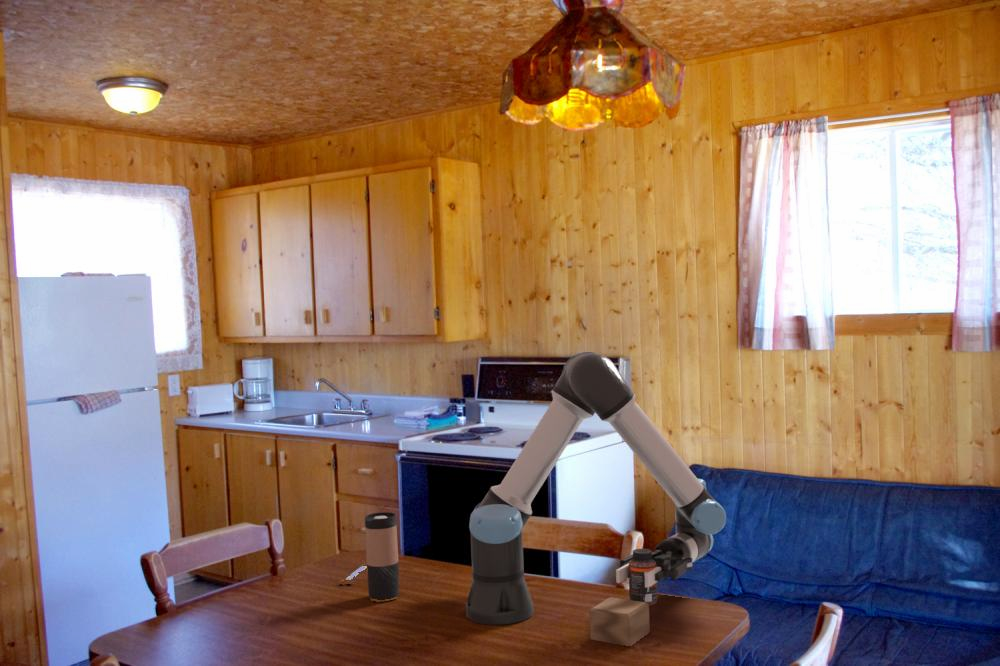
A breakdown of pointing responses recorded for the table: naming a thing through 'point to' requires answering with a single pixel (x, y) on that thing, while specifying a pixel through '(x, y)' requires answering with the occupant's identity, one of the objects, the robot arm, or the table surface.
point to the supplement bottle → (641, 577)
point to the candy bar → (355, 573)
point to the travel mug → (382, 555)
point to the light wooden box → (619, 621)
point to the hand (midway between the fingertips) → (632, 578)
